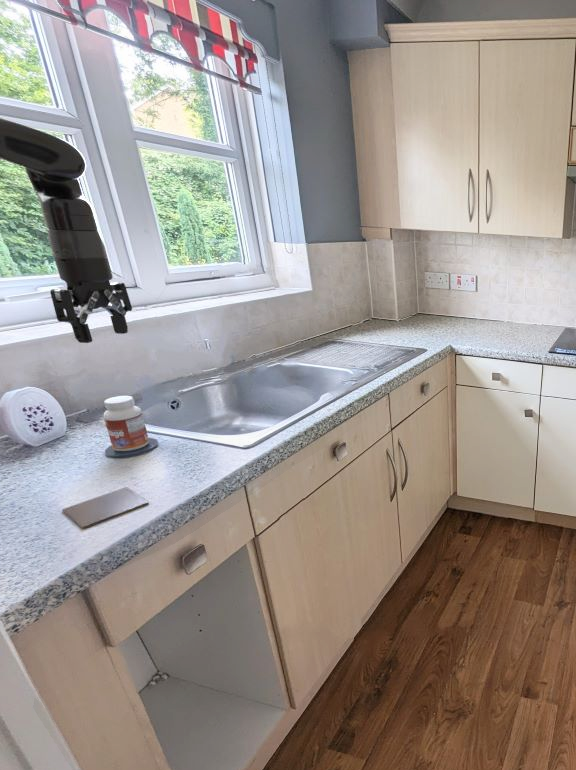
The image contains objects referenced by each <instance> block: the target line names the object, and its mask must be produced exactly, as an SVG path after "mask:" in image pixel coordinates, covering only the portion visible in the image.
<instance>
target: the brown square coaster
mask: <svg viewBox="0 0 576 770" xmlns="http://www.w3.org/2000/svg"><path fill="white" fill-rule="evenodd" d="M149 504H150V503H149V501H147V500H146V499H145V498H143V497H142V496H140V495H139V494H138V493H136V492H135V491H133V490H132V489H130V488H129V487H127V486H125V487H122V488H120V489H116V490H114V491H111V492H108V493H105V494H102V495H99V496H96V497H94V498H91V499H88V500H84V501H82V502H79V503H77V504H73V505H70V506H68V507H65V508H62V509H61V512H63V513H64V514H65V515H66V516H67V517H68V518H70V519H71V520H72V521H73V522H74V523H75V524H76V525H77V526H78V527H80V529H82V530H85V529H88V528H91V527H92V526H95V525H98V524H100V523H103V522H106V521H108V520H111V519H114V518H116V517H118V516H121V515H125V514H127V513H129V512H132V511H134V510H137V509H140V508H143V507H146V506H147V505H149Z"/></svg>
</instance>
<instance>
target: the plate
mask: <svg viewBox="0 0 576 770" xmlns="http://www.w3.org/2000/svg"><path fill="white" fill-rule="evenodd" d="M148 438H149V443H148V444H147V445H146V446H144V447H142V448H140V449H136V450H132V451H116V450H114V449H113V447H112V444H111V445H109V446H108V447H107V448H106V449H105V450H104V454H105V456H106V457H108V458H112V459H113V458H114V459H124V458H130V457H131V458H132V457H136V456H140V455H143V454H146V453H148V452H151V451H154V449H156V448H157V447H158V446H159V440H158V439H157V438H154V437H148Z"/></svg>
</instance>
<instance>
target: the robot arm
mask: <svg viewBox="0 0 576 770" xmlns="http://www.w3.org/2000/svg"><path fill="white" fill-rule="evenodd" d="M0 160H3V161H6V162H8V163H12V164H15V165H17V166H20V167H23V168H24V170H25V172H26V175H27V177H28V179H29V181H30V184H31V185H32V188H33V190H34V192H35V194H36V196H37V198H38V201H39V205H40V209H41V213H42V216H43V220H44V223H45V227H46V229H47V233H48V235H47V236H48V242H49V245H50V249H51V252H52V256H53V259H54V262H55V265H56V269H57V272H58V275H59V278H60V280H62V281H64V282H65V283H66V289H62V288H61V289H60V288H56V289H55V288H52V289H50V291H49V292H50V297H51V300H52V305H53V308H54V312H55V317H56V320H57V321H58V322H59V323H69V324H70V325H71V328H72V332H73V335H74V336H75V337H74V338H75V340H76V341H78V342H79V343H81V344H89V343H92V342H93V337H92V334H91V330H90V327H89V324H88V323H87V321H88V318H89V315H91V314H92V313H93V310H97V309H100V308H102V309H104V310H105V311H107V313H108V314H110V315H109V316H110V320H111V324H112V327H113V331H114V333H115V334H118V335H119V334H123V335H124V334H128V332H129V330H128V328H129V327H128V323H127V319H126V315H127V312H131V311H133V306H132V303H131V300H130V296H129V294H128V290H127V287H126V283H124V282H112V281H111V280H113V278H114V276H113V273H112V269H111V265H110V261H109V257H108V254H107V250H106V246H105V243H104V240H103V238H102V236H101V233H100V230H99V226H98V222H97V219H96V215H95V211H94V209H93V207H92V204H91V203H90V202H89V200H87V199H86V198H85V196H84V193H83V190H82V189H83V188H82V187H81V184H80V183H81V182H80V180H79V178H81V177H82V176H83V175H84V174H85V172H86V169H87V163H86V160H85V157H84V156H83V154H82V153H81V152H80V150H79V149H78V148H76V147H75V146H74V145H73V144H72V143H70V142H68V141H66V140H65V139H62V138H60V137H58V136H56V135H53V134H50V133H48V132H45V131H42V130H39V129H37V128H33V127H30V126H28V125H24V124H22V123H18V122H15V121H12V120H8V119H5V118H1V117H0ZM122 303H123V304H122ZM65 313H66V314H65Z"/></svg>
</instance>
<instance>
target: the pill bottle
mask: <svg viewBox="0 0 576 770" xmlns="http://www.w3.org/2000/svg"><path fill="white" fill-rule="evenodd" d="M103 403H104V407H105V409H107V410H105V411H104V412H103V421H104V423H105V426H106V431H107V433H108V437H109V440H110V444H111V445H112V447H113V449H114V450H116V451H132V450H136V449H140V448H142V447H144V446H146V445H147V444H148V443H149V438H150V437H149V434H148V431H147V427H146V422H145V419H144V415H143V412H142V410H141V409H142V408H140V407H139V406H137V405H135V400H134V397H133V396H131V395H117V396H113V397H109V398H107V399H105V400H104V401H103Z"/></svg>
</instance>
